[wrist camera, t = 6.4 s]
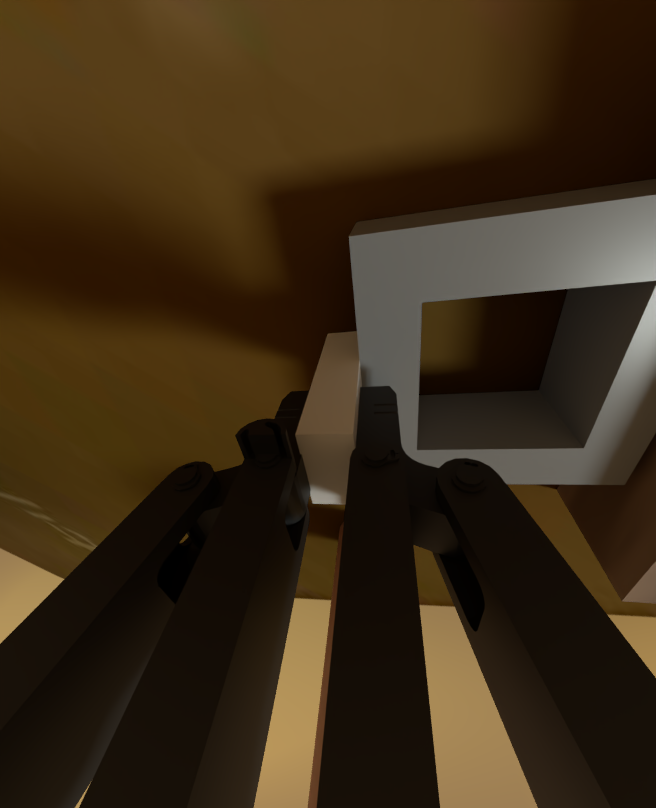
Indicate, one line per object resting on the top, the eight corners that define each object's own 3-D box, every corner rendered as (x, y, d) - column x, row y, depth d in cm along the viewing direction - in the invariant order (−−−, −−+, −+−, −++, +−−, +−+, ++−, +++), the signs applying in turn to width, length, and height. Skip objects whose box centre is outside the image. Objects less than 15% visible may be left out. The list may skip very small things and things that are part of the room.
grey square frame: (371, 427, 17) (370, 483, 14) (356, 221, 12) (348, 236, 9) (573, 422, 16) (624, 485, 12) (669, 176, 10) (809, 173, 7)
